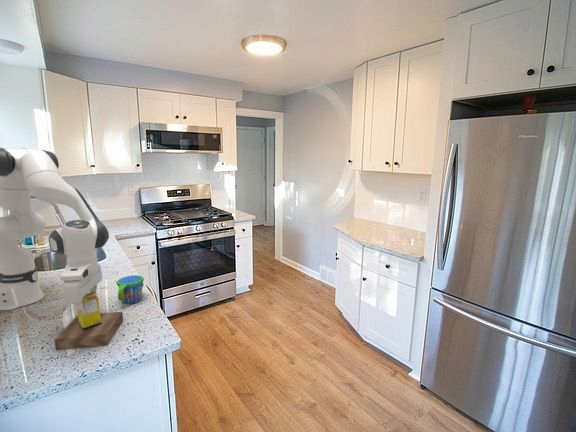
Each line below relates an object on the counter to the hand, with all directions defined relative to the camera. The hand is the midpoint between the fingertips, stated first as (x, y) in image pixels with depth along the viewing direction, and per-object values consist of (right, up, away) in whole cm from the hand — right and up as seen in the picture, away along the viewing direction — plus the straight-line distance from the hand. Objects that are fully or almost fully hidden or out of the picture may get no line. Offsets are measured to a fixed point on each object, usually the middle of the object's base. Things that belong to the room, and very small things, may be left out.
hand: (87, 302), depth 110 cm
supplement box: (0, -9, +2) cm, 9 cm away
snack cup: (+2, -7, +29) cm, 30 cm away
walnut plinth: (0, -12, +2) cm, 13 cm away
